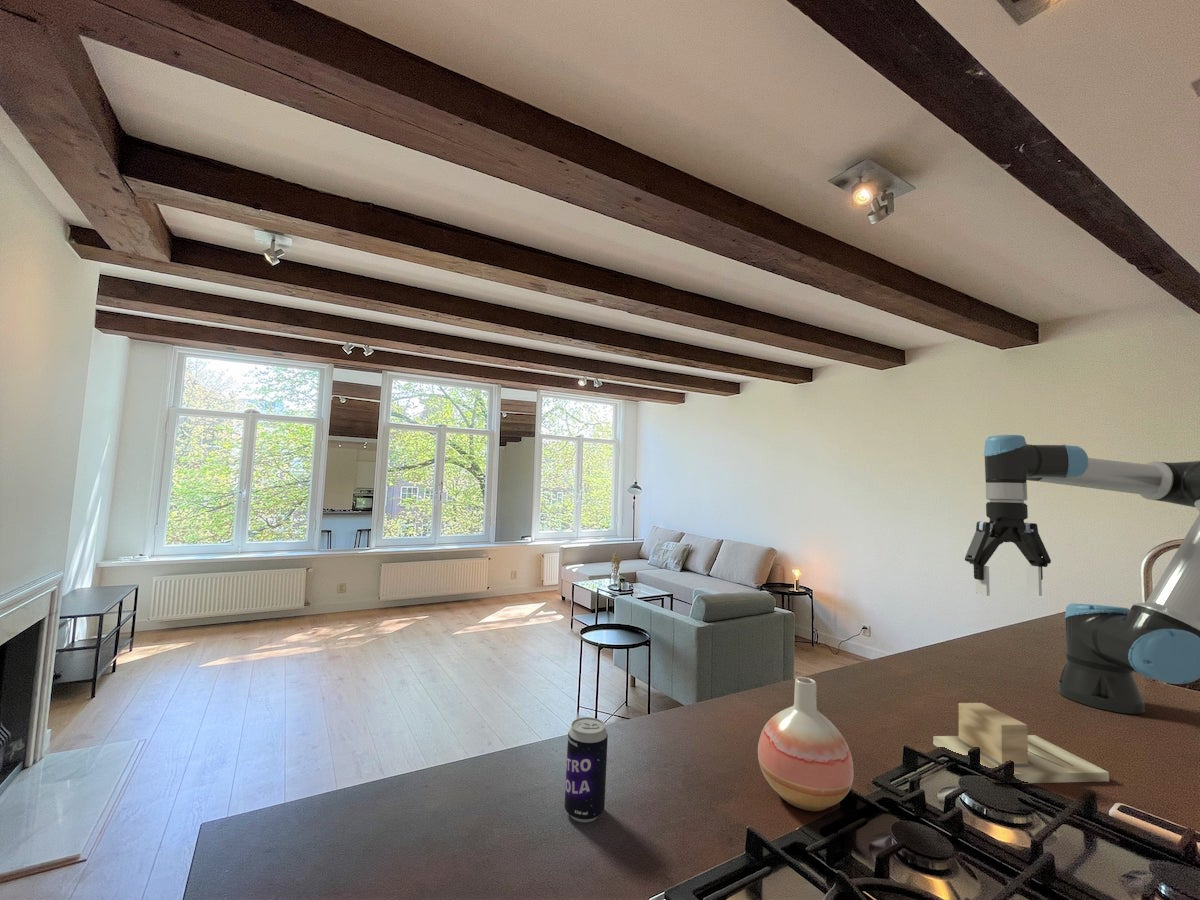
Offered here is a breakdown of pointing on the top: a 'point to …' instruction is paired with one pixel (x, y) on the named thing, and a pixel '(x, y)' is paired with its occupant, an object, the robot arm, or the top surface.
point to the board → (1039, 762)
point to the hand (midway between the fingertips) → (1009, 594)
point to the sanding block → (993, 734)
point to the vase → (805, 754)
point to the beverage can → (586, 769)
